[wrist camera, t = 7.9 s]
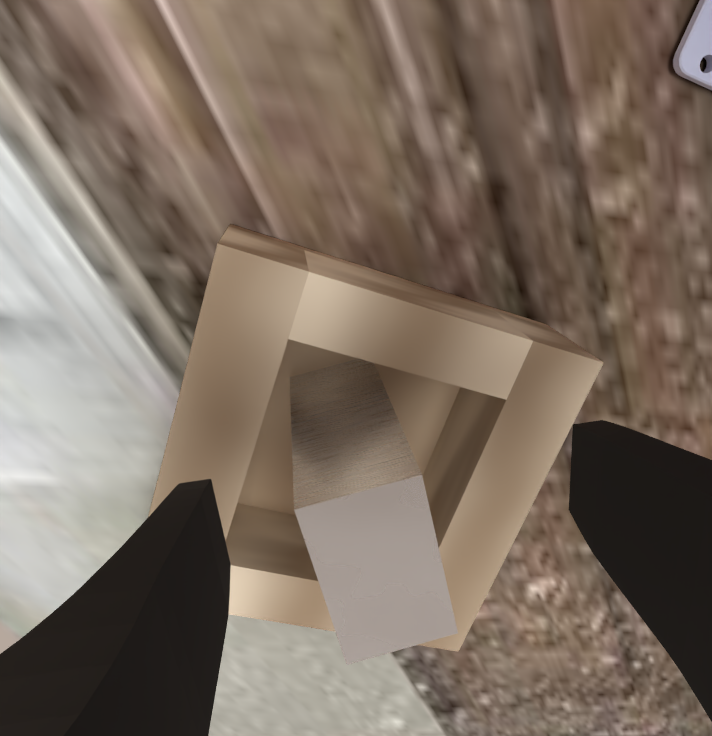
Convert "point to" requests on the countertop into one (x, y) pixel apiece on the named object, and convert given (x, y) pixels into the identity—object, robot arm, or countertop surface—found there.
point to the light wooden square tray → (408, 397)
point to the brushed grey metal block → (365, 513)
